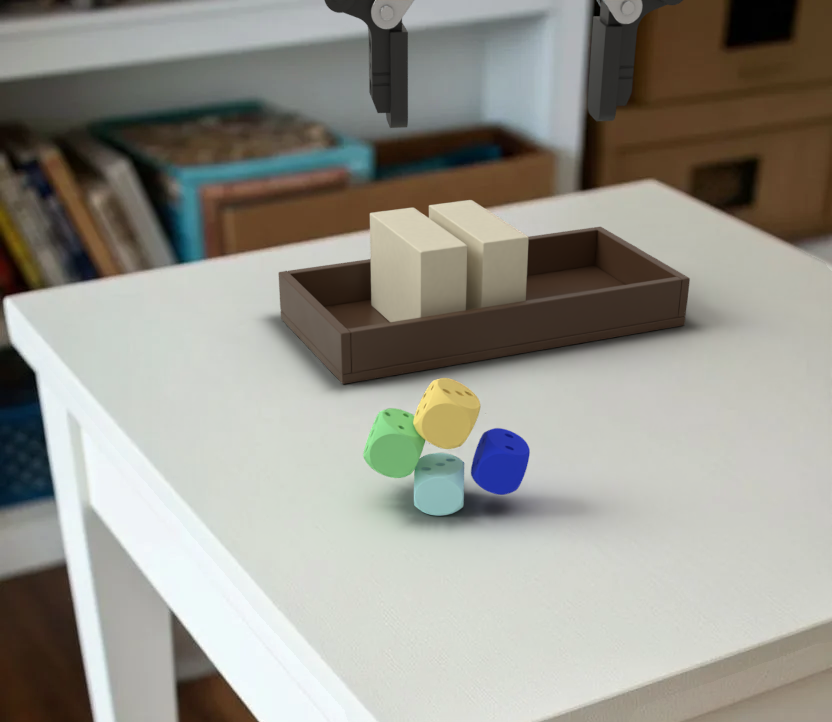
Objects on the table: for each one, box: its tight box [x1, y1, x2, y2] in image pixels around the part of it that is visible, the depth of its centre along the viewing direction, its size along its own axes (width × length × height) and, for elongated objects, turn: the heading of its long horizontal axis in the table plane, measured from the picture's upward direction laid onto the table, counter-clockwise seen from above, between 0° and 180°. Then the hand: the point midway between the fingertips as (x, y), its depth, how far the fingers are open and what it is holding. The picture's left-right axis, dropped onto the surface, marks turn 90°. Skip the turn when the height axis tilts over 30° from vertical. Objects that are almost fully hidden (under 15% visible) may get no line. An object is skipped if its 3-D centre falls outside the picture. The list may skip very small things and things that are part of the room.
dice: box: [362, 377, 531, 517], centre depth 66 cm, size 8×3×6 cm, turn 88°
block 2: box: [428, 199, 529, 310], centre depth 86 cm, size 3×8×6 cm, turn 23°
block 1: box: [369, 206, 467, 322], centre depth 85 cm, size 3×8×6 cm, turn 23°
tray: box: [278, 226, 691, 385], centre depth 87 cm, size 23×11×3 cm, turn 113°
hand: (498, 120), depth 57 cm, fingers open, 8 cm apart
